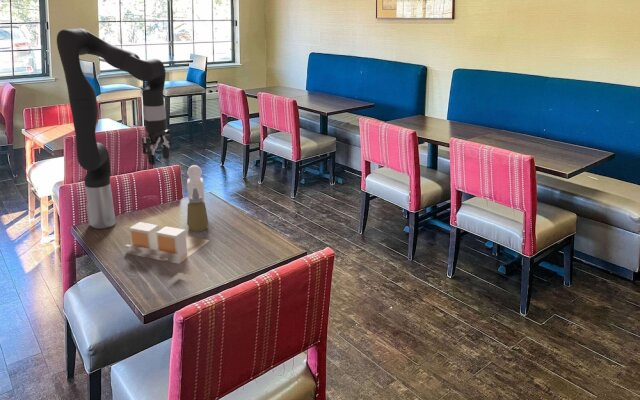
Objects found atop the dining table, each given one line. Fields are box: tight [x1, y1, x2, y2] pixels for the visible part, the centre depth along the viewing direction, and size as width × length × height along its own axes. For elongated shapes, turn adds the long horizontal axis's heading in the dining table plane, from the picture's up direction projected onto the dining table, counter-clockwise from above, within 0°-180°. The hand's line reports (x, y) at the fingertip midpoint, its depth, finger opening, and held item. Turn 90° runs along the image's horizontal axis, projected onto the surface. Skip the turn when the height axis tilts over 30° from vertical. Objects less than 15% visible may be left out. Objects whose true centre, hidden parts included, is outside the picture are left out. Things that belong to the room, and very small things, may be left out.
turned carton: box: [156, 226, 187, 258], centre depth 190 cm, size 6×8×9 cm
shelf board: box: [124, 235, 211, 264], centre depth 197 cm, size 22×20×4 cm
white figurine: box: [186, 164, 205, 203], centre depth 225 cm, size 6×6×22 cm
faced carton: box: [128, 221, 160, 250], centre depth 194 cm, size 6×8×9 cm
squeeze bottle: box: [186, 188, 209, 232], centre depth 211 cm, size 8×8×18 cm
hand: (159, 161), depth 199 cm, fingers open, 8 cm apart
